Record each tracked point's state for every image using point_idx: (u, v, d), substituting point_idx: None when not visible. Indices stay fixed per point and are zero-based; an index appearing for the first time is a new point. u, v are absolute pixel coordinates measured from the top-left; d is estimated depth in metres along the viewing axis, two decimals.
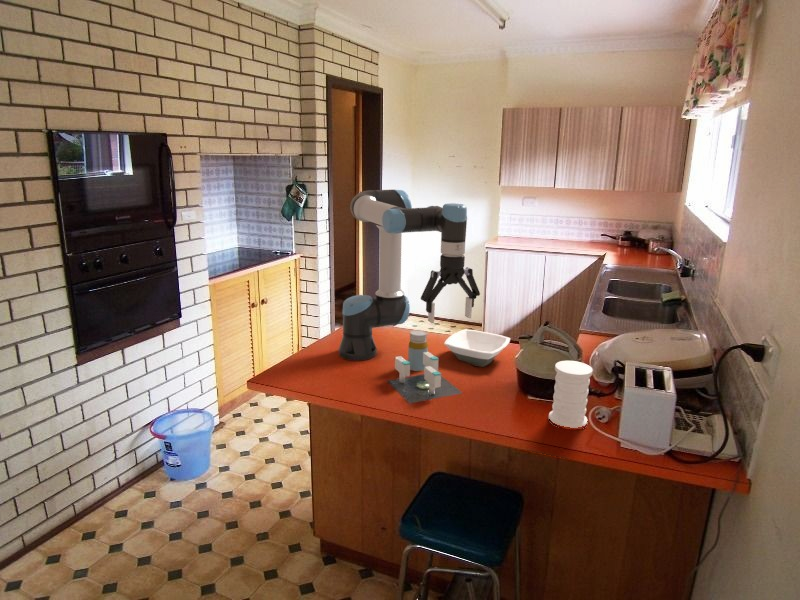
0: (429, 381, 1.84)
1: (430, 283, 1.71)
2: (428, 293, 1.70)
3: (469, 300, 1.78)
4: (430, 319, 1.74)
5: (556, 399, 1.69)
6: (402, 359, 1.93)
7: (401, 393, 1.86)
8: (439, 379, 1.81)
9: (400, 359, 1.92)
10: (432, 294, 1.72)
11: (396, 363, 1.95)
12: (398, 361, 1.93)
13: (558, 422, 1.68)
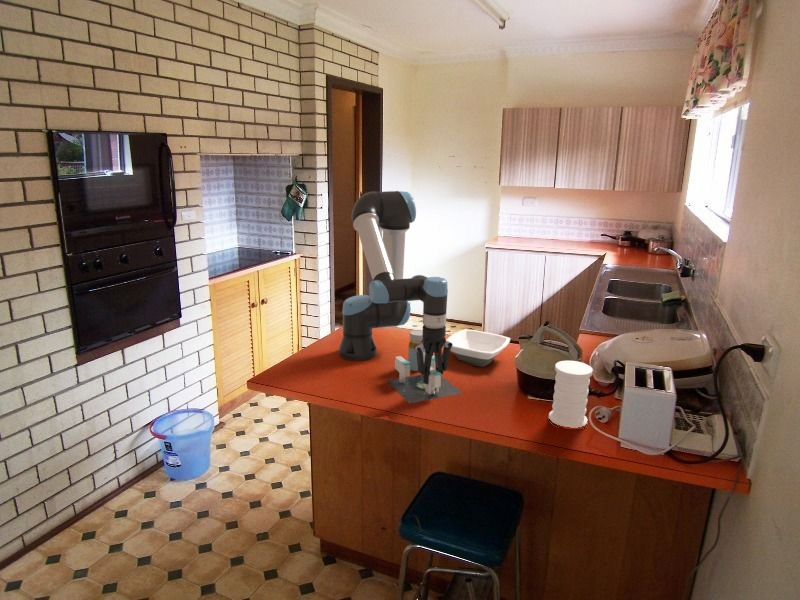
0: None
1: (419, 358, 1.80)
2: (422, 367, 1.80)
3: None
4: (427, 390, 1.85)
5: (556, 399, 1.69)
6: (402, 359, 1.93)
7: (401, 393, 1.86)
8: (439, 379, 1.81)
9: (400, 359, 1.92)
10: (426, 367, 1.82)
11: (396, 363, 1.95)
12: (398, 361, 1.93)
13: (558, 422, 1.68)
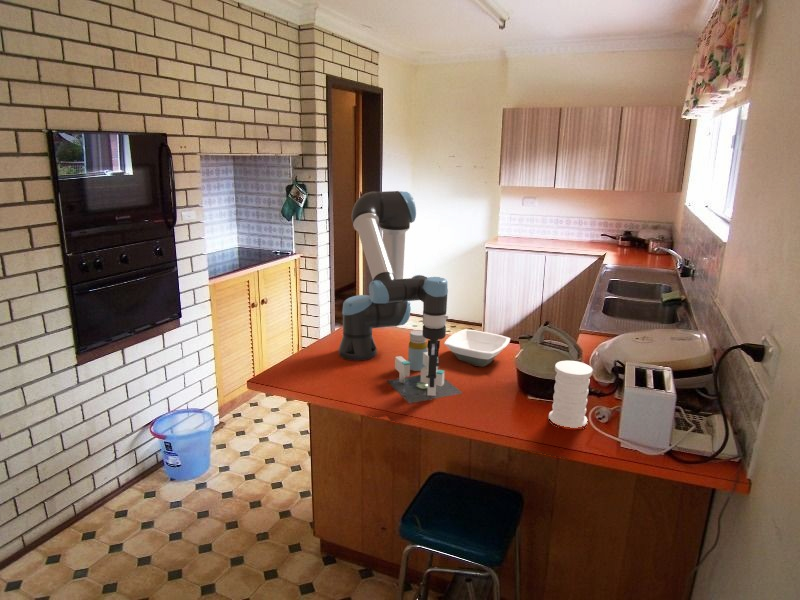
0: None
1: (434, 361, 1.76)
2: None
3: (435, 369, 1.88)
4: (432, 392, 1.81)
5: (556, 399, 1.69)
6: (402, 359, 1.93)
7: (401, 393, 1.86)
8: (443, 376, 1.83)
9: (400, 359, 1.92)
10: None
11: (396, 363, 1.95)
12: (398, 361, 1.93)
13: (558, 422, 1.68)
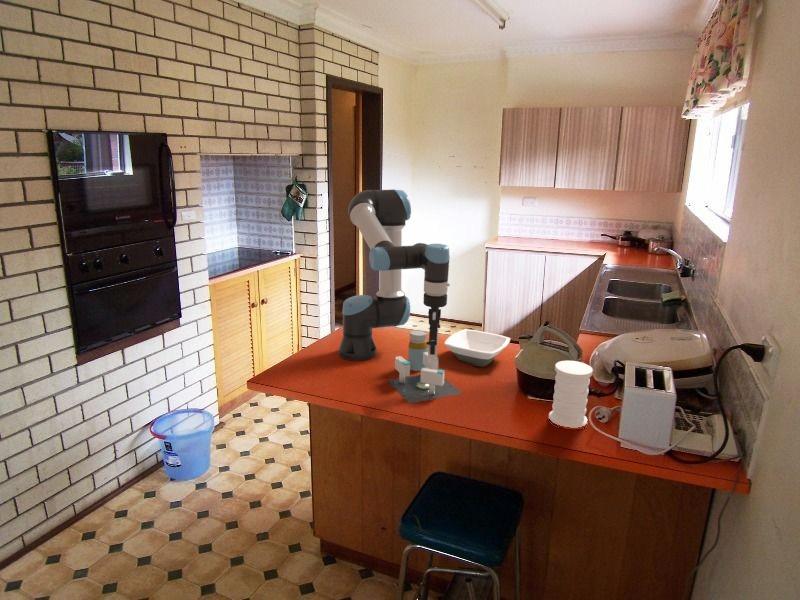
0: (431, 382, 1.84)
1: (435, 326, 1.72)
2: (436, 336, 1.72)
3: (436, 331, 1.87)
4: (433, 360, 1.76)
5: (556, 399, 1.69)
6: (402, 359, 1.93)
7: (401, 393, 1.86)
8: None
9: (400, 359, 1.92)
10: None
11: (396, 363, 1.95)
12: (398, 361, 1.93)
13: (558, 422, 1.68)
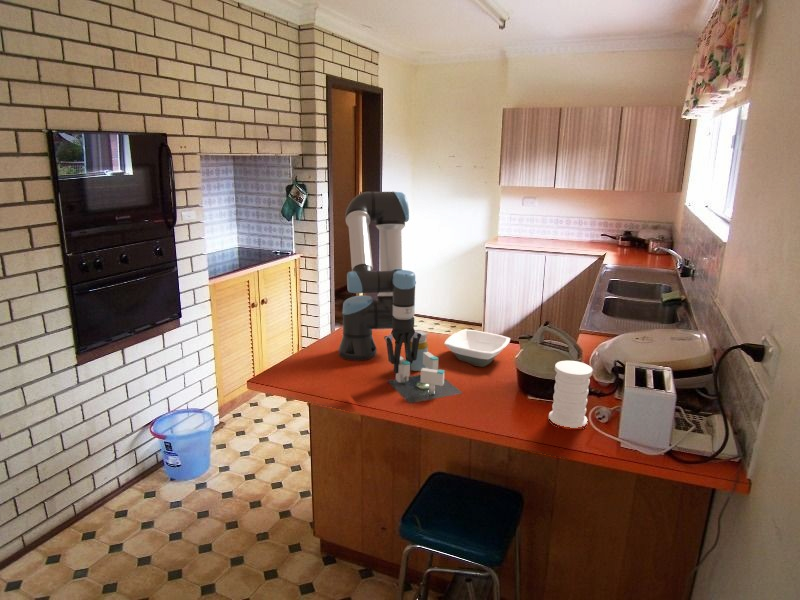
0: (431, 382, 1.84)
1: (388, 348, 1.88)
2: (391, 356, 1.89)
3: None
4: (397, 378, 1.93)
5: (556, 399, 1.69)
6: (402, 359, 1.93)
7: (401, 393, 1.86)
8: None
9: (400, 359, 1.92)
10: (395, 357, 1.90)
11: None
12: None
13: (558, 422, 1.68)
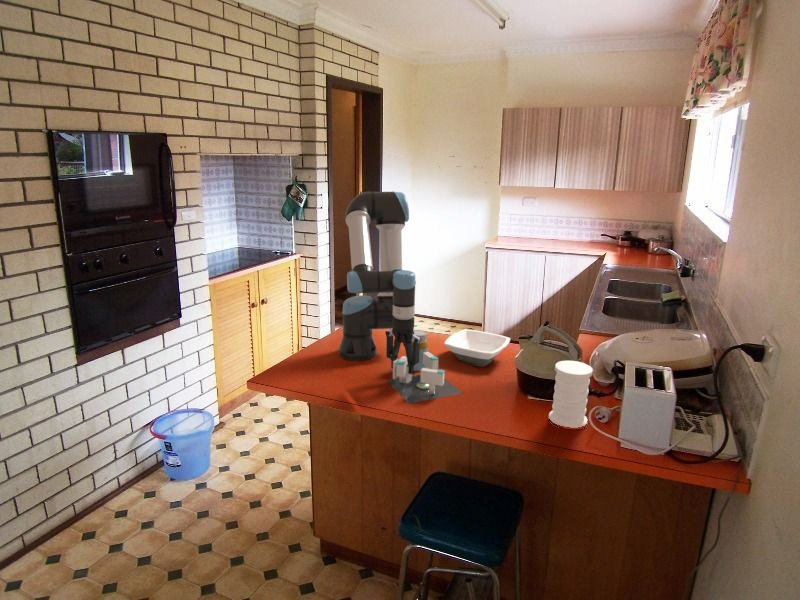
0: (431, 382, 1.84)
1: None
2: (387, 350, 1.94)
3: None
4: None
5: (556, 399, 1.69)
6: (403, 359, 1.93)
7: (401, 393, 1.86)
8: None
9: (401, 359, 1.93)
10: None
11: None
12: None
13: (558, 422, 1.68)
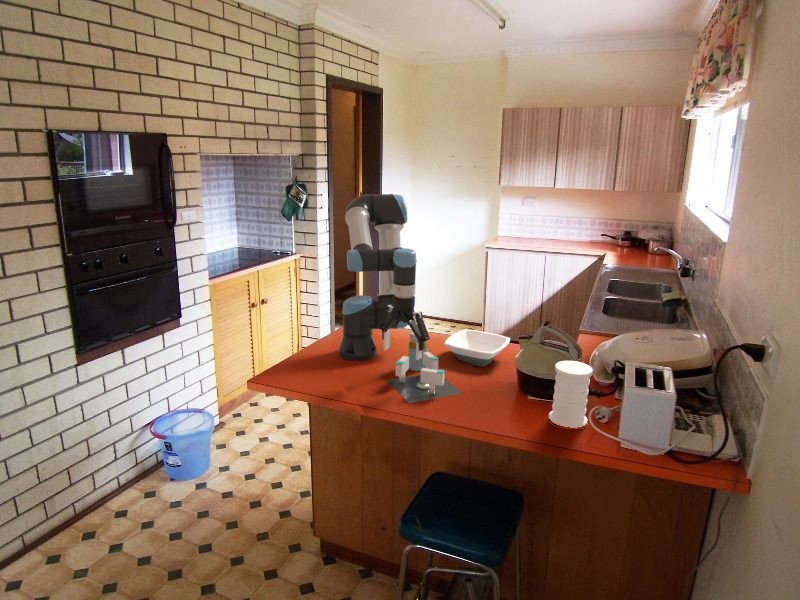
0: (431, 382, 1.84)
1: None
2: (380, 322, 1.93)
3: None
4: None
5: (556, 399, 1.69)
6: (403, 359, 1.93)
7: (401, 393, 1.86)
8: None
9: (401, 359, 1.93)
10: None
11: None
12: None
13: (558, 422, 1.68)
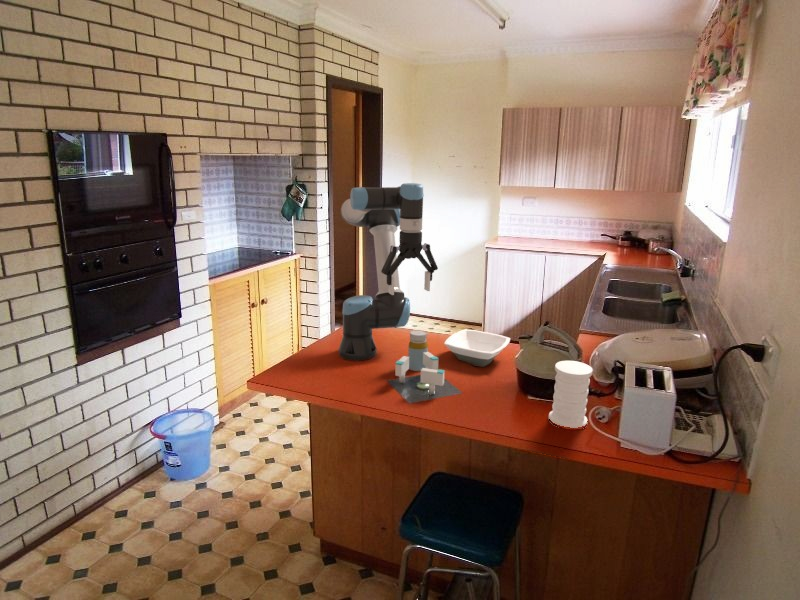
0: (431, 382, 1.84)
1: (390, 257, 1.84)
2: (388, 266, 1.84)
3: (427, 274, 1.91)
4: (390, 291, 1.87)
5: (556, 399, 1.69)
6: (403, 359, 1.93)
7: (401, 393, 1.86)
8: None
9: (401, 359, 1.93)
10: (392, 267, 1.85)
11: None
12: None
13: (558, 422, 1.68)
